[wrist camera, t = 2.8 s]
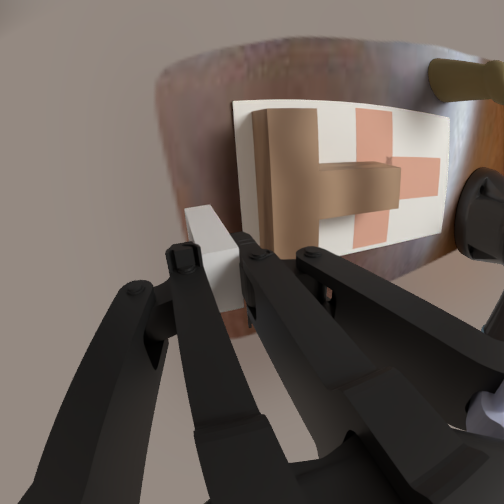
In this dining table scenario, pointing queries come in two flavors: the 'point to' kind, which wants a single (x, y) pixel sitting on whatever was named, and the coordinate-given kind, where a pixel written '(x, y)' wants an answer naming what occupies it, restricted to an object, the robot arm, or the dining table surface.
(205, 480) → the robot arm
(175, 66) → the dining table surface
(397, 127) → the mat
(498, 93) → the olive pepper mill
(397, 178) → the t block
